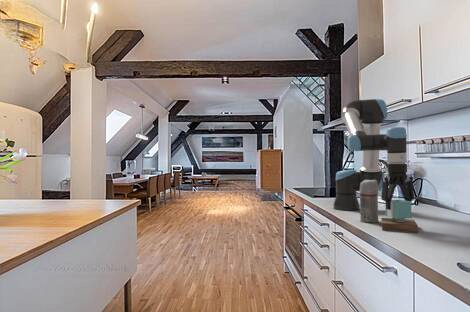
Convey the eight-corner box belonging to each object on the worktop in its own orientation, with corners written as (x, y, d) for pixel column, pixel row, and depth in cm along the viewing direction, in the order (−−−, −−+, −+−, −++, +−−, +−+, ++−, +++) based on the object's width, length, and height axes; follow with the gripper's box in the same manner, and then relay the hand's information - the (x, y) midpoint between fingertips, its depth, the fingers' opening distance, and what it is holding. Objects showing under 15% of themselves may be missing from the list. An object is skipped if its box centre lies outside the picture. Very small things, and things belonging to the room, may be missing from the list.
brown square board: (381, 224, 143) (381, 203, 143) (414, 226, 138) (413, 204, 138) (382, 230, 132) (381, 207, 132) (417, 232, 126) (417, 209, 126)
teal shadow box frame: (385, 216, 138) (385, 200, 138) (399, 215, 139) (399, 199, 139) (396, 219, 131) (396, 202, 131) (411, 218, 132) (411, 201, 132)
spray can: (380, 223, 145) (380, 180, 145) (362, 223, 147) (361, 180, 147) (376, 220, 153) (375, 179, 154) (358, 219, 155) (357, 179, 155)
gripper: (382, 163, 130) (383, 219, 129) (423, 162, 133) (425, 216, 133) (371, 163, 137) (372, 216, 137) (410, 162, 141) (412, 214, 140)
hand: (398, 216), depth 135 cm, fingers closed on teal shadow box frame, 7 cm apart
